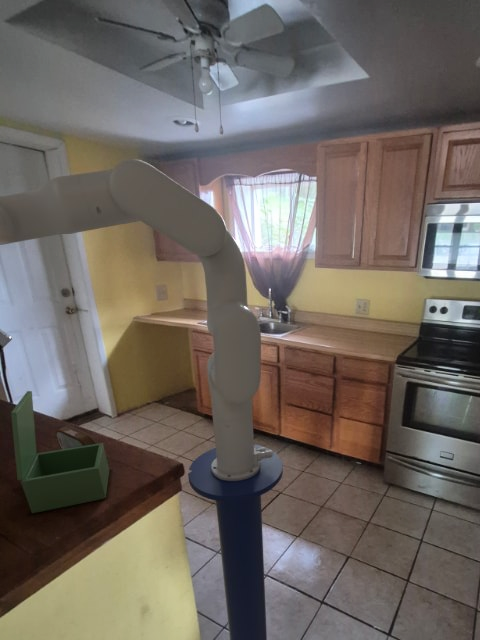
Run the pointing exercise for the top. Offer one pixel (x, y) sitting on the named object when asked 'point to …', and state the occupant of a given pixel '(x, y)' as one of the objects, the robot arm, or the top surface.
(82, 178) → the robot arm
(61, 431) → the tin
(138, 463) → the top surface
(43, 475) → the chest
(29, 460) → the lid
